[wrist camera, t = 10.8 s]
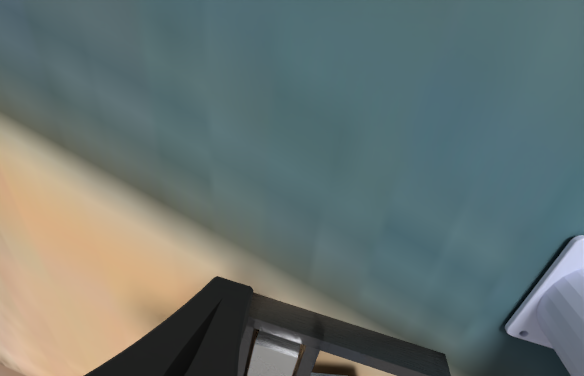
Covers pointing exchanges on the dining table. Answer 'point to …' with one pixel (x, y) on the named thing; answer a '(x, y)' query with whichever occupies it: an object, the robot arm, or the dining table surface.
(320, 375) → the brushed metal pillar
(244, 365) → the frame
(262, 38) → the dining table surface
